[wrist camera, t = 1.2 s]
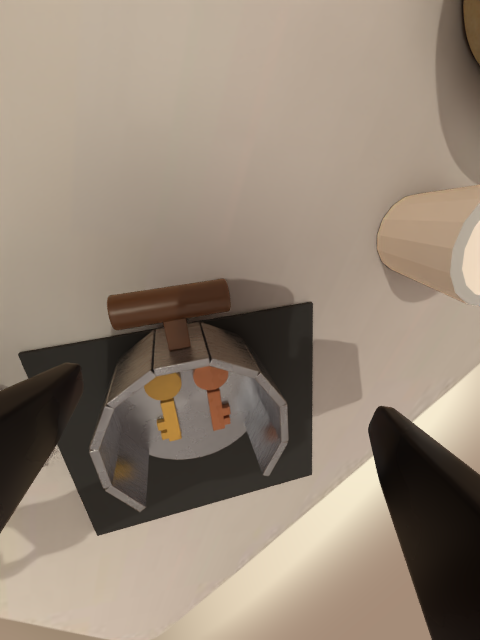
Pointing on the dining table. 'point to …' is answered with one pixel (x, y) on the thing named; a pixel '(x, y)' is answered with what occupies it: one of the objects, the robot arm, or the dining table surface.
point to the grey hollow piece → (191, 401)
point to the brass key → (166, 403)
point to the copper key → (214, 394)
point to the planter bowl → (473, 25)
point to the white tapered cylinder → (436, 241)
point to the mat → (203, 472)
